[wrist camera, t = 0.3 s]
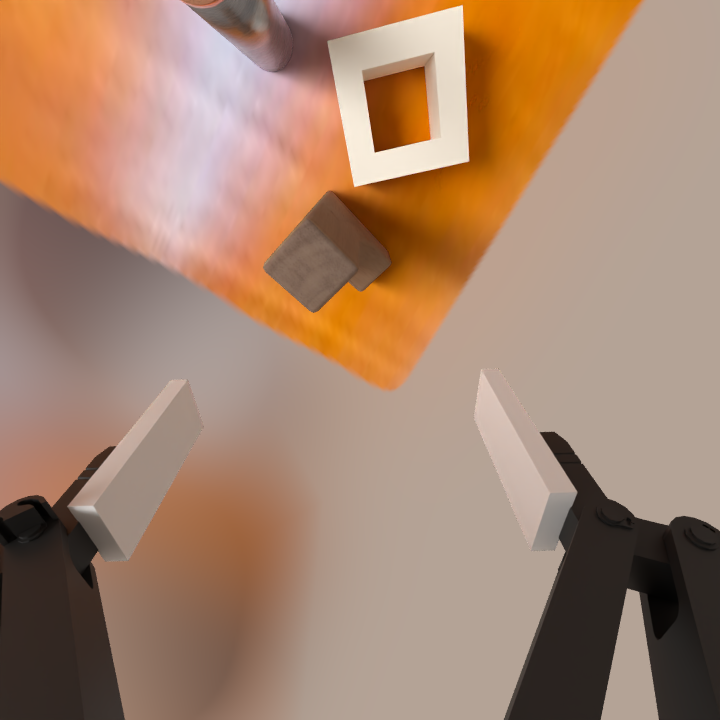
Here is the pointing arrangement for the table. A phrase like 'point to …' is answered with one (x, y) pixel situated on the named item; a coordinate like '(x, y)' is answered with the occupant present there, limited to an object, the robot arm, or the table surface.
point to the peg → (250, 28)
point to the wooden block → (327, 255)
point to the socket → (393, 55)
